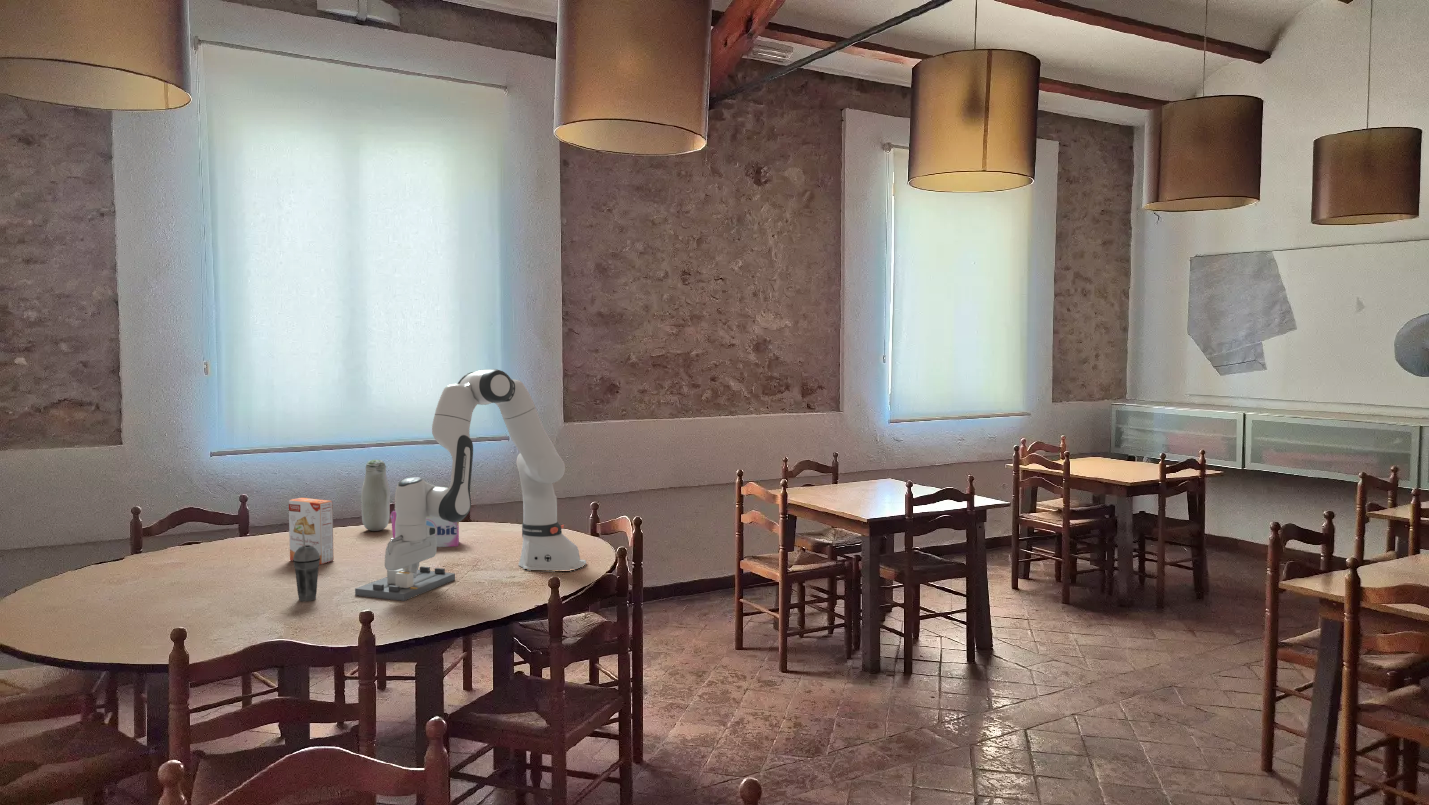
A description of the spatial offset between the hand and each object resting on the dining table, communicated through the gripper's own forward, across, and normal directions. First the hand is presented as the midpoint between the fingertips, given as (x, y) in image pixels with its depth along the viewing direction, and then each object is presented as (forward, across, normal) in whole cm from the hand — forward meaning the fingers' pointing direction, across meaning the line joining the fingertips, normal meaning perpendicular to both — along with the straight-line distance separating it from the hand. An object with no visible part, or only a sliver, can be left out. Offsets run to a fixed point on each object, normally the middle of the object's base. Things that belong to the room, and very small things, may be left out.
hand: (411, 578), depth 271 cm
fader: (+1, -3, 0) cm, 4 cm away
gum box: (+4, +54, +33) cm, 63 cm away
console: (+4, +3, +4) cm, 6 cm away
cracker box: (+4, +19, +54) cm, 58 cm away
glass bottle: (+4, +68, +67) cm, 96 cm away
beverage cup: (+4, -18, +22) cm, 29 cm away
